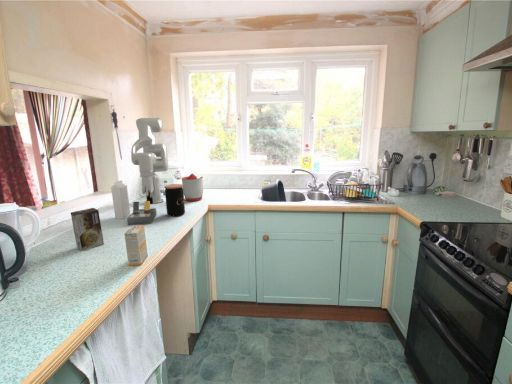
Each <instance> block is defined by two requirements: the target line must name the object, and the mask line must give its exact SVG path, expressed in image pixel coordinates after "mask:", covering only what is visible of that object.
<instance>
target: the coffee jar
mask: <svg viewBox="0 0 512 384" xmlns="http://www.w3.org/2000/svg"><path fill="white" fill-rule="evenodd" d="M164 188H165V190H164V195H165V197H164V198H165V206H166V208H165V209H166V214H167V216H169V217H172V218H173V217H181V216H183V215H184V214H185V213H186V207H185V196H184V193H183V185H182V183H175V184H167V185H164Z"/></svg>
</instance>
